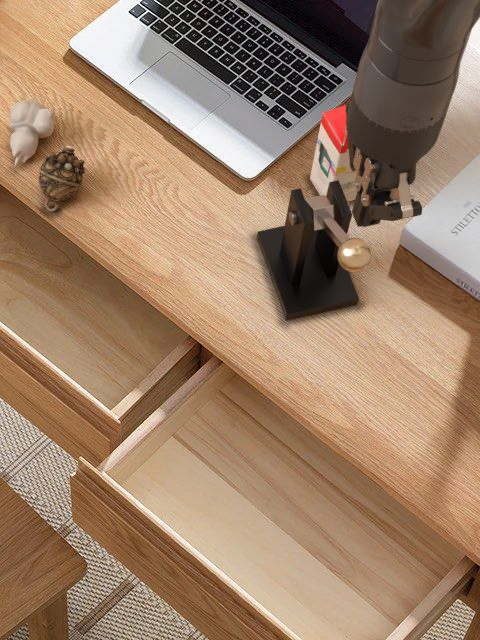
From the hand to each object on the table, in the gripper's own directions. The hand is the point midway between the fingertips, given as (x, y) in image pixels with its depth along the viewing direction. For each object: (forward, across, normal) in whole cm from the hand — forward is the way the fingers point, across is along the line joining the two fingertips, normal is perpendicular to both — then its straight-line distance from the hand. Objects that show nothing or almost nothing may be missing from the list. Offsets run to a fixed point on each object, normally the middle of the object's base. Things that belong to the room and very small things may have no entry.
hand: (365, 218), depth 112 cm
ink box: (+22, +19, -9) cm, 30 cm away
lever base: (+22, +9, 0) cm, 24 cm away
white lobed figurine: (+19, +36, +24) cm, 47 cm away
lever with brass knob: (+10, +3, 0) cm, 11 cm away
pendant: (+20, +27, +26) cm, 42 cm away
